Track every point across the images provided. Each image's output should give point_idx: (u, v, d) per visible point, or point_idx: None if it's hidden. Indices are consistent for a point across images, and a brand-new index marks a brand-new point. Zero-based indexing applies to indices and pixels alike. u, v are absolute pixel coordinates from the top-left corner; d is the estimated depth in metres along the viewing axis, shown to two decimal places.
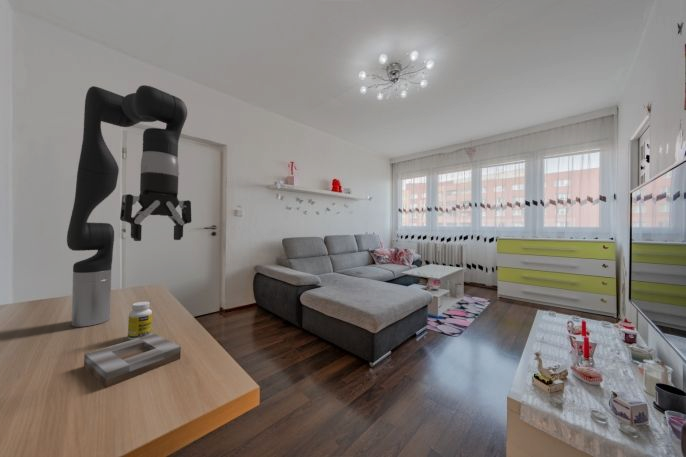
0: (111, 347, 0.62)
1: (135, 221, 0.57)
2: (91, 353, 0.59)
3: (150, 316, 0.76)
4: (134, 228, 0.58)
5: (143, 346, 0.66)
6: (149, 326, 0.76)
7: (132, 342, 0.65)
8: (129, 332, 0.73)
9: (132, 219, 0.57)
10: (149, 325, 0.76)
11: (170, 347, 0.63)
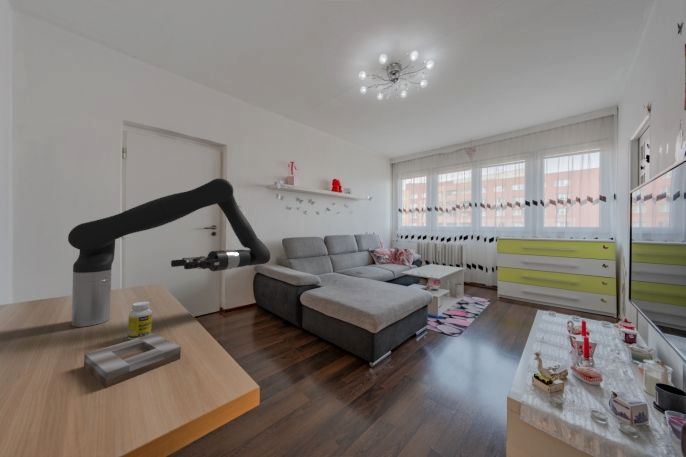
0: (111, 347, 0.62)
1: (199, 268, 0.85)
2: (91, 353, 0.59)
3: (150, 316, 0.76)
4: (195, 267, 0.84)
5: (143, 346, 0.66)
6: (149, 326, 0.76)
7: (132, 342, 0.65)
8: (129, 332, 0.73)
9: None
10: (149, 325, 0.76)
11: (170, 347, 0.63)
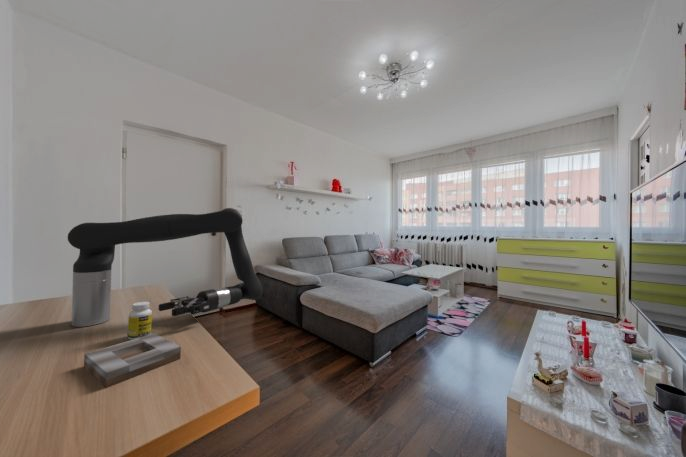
0: (111, 347, 0.62)
1: (188, 313, 0.82)
2: (91, 353, 0.59)
3: (150, 316, 0.76)
4: None
5: (143, 346, 0.66)
6: (149, 326, 0.76)
7: (132, 342, 0.65)
8: (129, 332, 0.73)
9: None
10: (149, 325, 0.76)
11: (170, 347, 0.63)
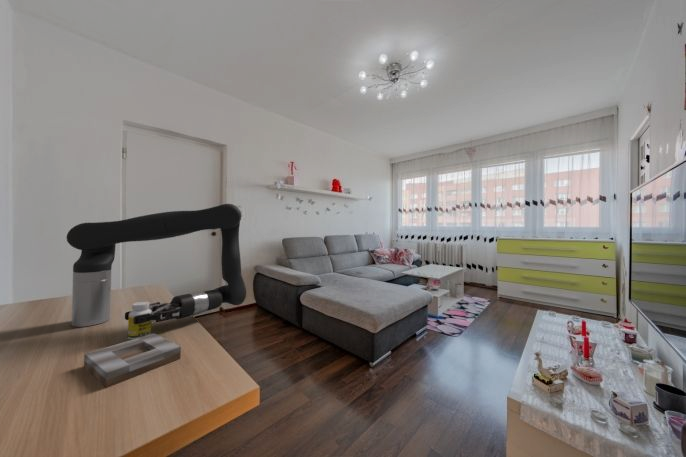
0: (111, 347, 0.62)
1: None
2: (91, 353, 0.59)
3: None
4: None
5: (143, 346, 0.66)
6: (149, 326, 0.76)
7: (132, 342, 0.65)
8: (129, 332, 0.73)
9: None
10: (149, 325, 0.76)
11: (170, 347, 0.63)
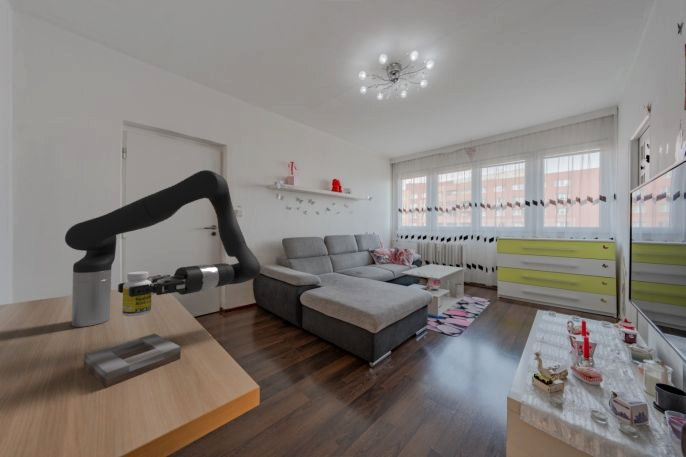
0: (111, 347, 0.62)
1: (153, 293, 0.61)
2: (91, 353, 0.59)
3: None
4: (145, 293, 0.60)
5: (143, 346, 0.66)
6: (148, 300, 0.62)
7: (132, 342, 0.65)
8: (124, 307, 0.59)
9: None
10: (148, 299, 0.62)
11: (170, 347, 0.63)
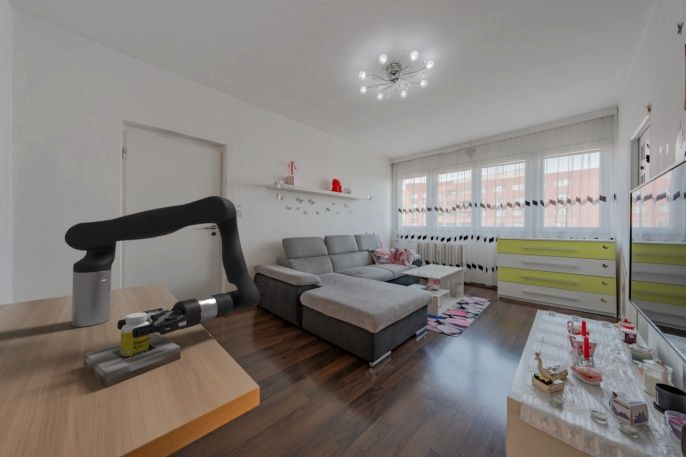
0: (111, 347, 0.62)
1: (156, 333, 0.61)
2: (91, 353, 0.59)
3: None
4: None
5: None
6: (146, 343, 0.62)
7: None
8: (121, 351, 0.59)
9: None
10: (146, 342, 0.62)
11: (170, 347, 0.63)
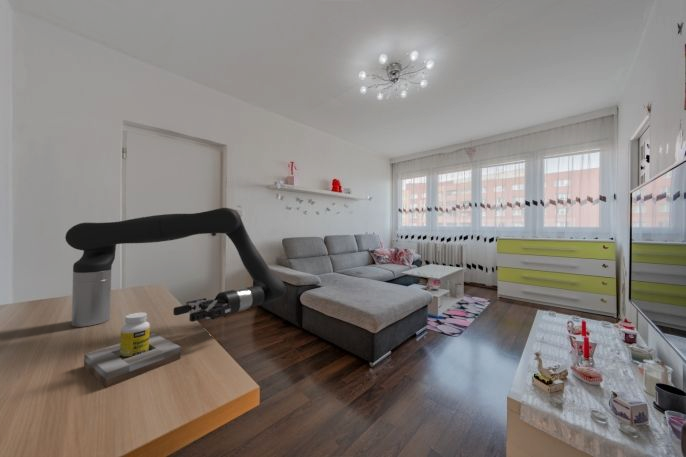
0: (111, 347, 0.62)
1: (208, 318, 0.71)
2: (91, 353, 0.59)
3: (147, 331, 0.62)
4: None
5: None
6: (146, 343, 0.62)
7: None
8: (121, 351, 0.59)
9: None
10: (146, 342, 0.62)
11: (170, 347, 0.63)
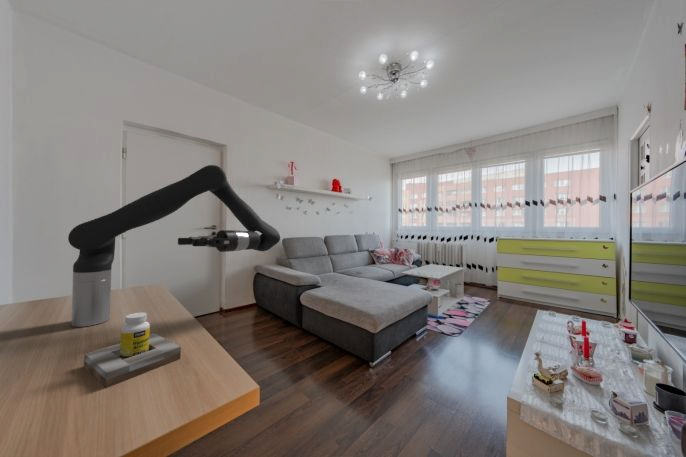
0: (111, 347, 0.62)
1: (209, 246, 0.79)
2: (91, 353, 0.59)
3: (147, 330, 0.62)
4: (204, 244, 0.78)
5: None
6: (146, 343, 0.62)
7: None
8: (121, 351, 0.59)
9: None
10: (146, 342, 0.62)
11: (170, 347, 0.63)
